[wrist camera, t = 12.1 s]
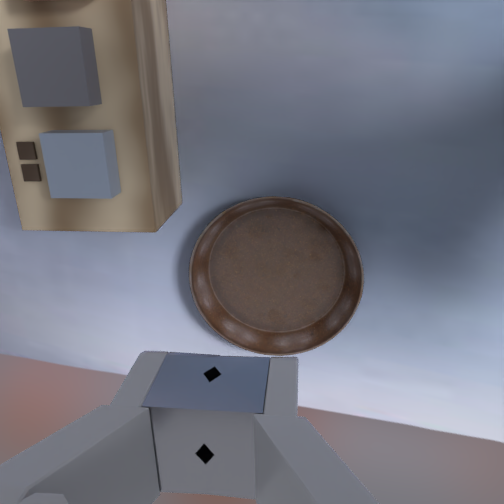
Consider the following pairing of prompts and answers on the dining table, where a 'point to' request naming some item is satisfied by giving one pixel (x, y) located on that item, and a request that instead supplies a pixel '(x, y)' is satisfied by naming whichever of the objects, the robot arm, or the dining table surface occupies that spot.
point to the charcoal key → (55, 66)
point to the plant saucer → (276, 276)
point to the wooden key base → (98, 116)
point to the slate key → (81, 163)
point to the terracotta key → (39, 0)
